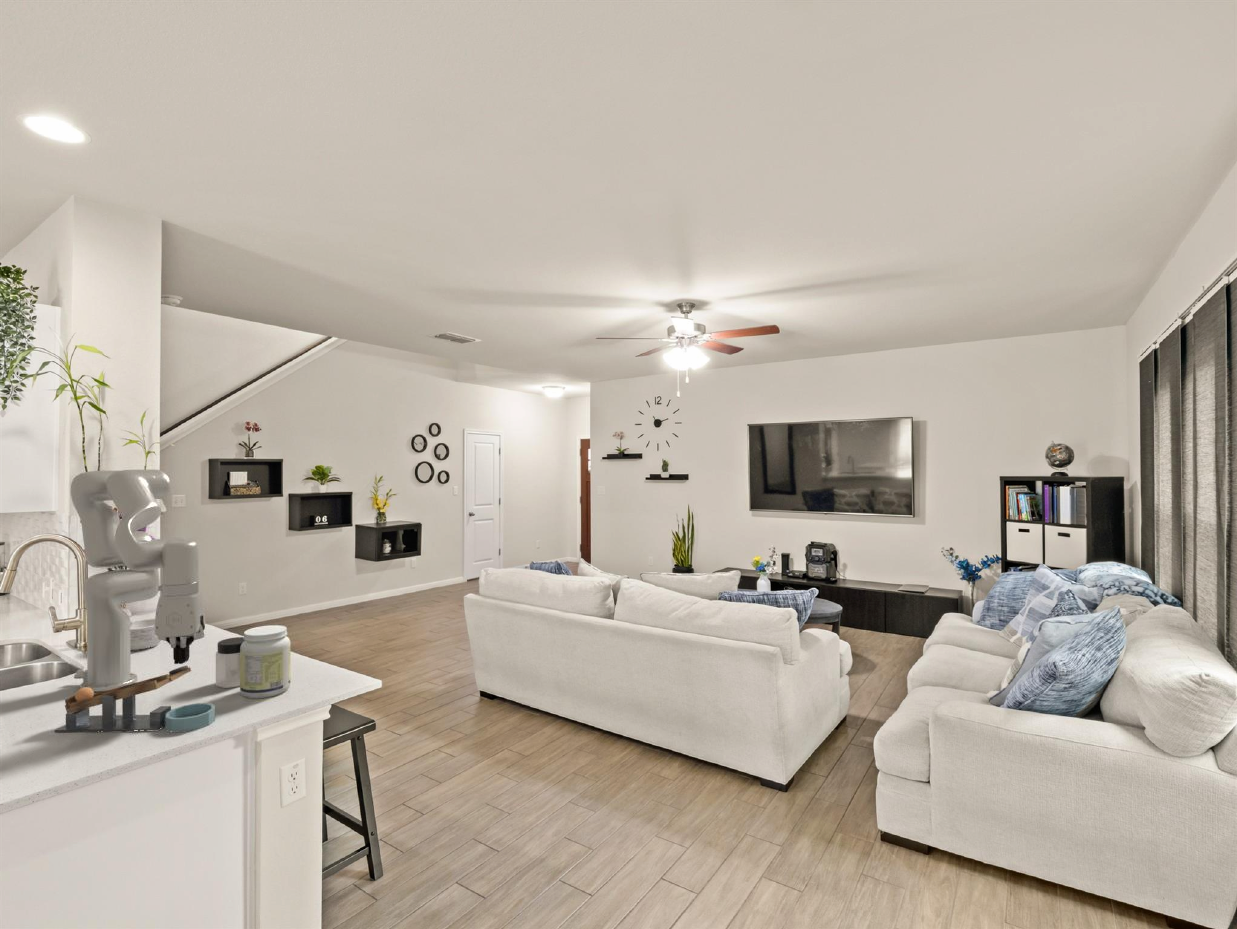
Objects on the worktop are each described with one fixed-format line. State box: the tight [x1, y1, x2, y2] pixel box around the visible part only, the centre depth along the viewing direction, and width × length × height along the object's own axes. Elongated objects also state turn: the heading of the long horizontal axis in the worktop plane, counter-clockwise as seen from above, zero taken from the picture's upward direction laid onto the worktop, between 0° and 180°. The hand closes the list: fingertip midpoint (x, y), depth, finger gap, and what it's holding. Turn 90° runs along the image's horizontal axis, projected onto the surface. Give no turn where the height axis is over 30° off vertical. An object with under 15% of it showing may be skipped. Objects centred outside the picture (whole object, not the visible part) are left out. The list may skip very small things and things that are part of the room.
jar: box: [215, 636, 245, 689], centre depth 182 cm, size 9×8×12 cm
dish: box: [165, 702, 216, 733], centre depth 155 cm, size 10×10×3 cm
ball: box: [74, 687, 95, 701], centre depth 153 cm, size 4×4×4 cm
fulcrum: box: [54, 695, 172, 734], centre depth 154 cm, size 23×8×8 cm, turn 93°
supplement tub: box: [239, 624, 292, 699], centre depth 176 cm, size 12×12×17 cm
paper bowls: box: [130, 618, 162, 651], centre depth 217 cm, size 15×15×8 cm
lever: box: [64, 665, 192, 714], centre depth 158 cm, size 22×13×3 cm, turn 93°
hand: (181, 662), depth 163 cm, fingers closed
